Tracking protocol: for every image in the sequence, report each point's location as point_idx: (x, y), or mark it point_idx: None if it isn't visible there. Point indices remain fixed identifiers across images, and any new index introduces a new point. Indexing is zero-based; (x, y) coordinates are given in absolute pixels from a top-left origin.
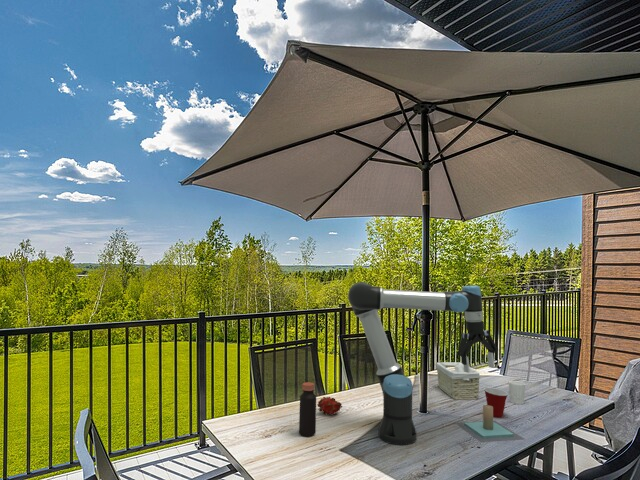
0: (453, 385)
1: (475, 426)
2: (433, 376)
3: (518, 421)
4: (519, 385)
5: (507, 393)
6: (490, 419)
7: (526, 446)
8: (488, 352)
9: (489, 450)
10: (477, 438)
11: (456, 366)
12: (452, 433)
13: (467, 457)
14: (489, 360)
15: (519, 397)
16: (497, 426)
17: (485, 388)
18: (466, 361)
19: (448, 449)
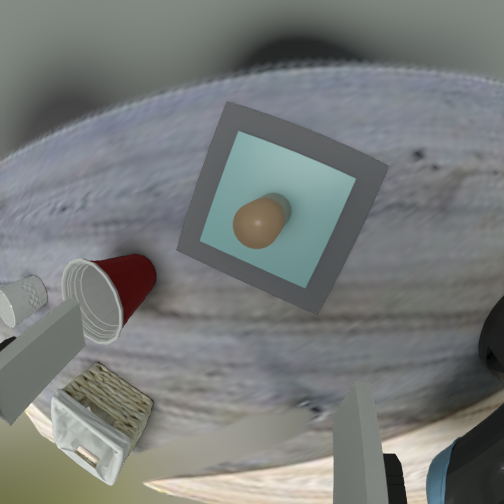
0: (137, 425)
1: (301, 245)
2: None
3: (116, 210)
4: (6, 295)
5: (68, 268)
6: (275, 199)
7: (270, 72)
8: (3, 415)
9: (409, 119)
10: (372, 189)
11: (72, 447)
12: (397, 268)
13: (494, 140)
14: (48, 366)
15: (28, 285)
16: (227, 202)
17: (103, 340)
18: (378, 480)
19: (497, 202)
